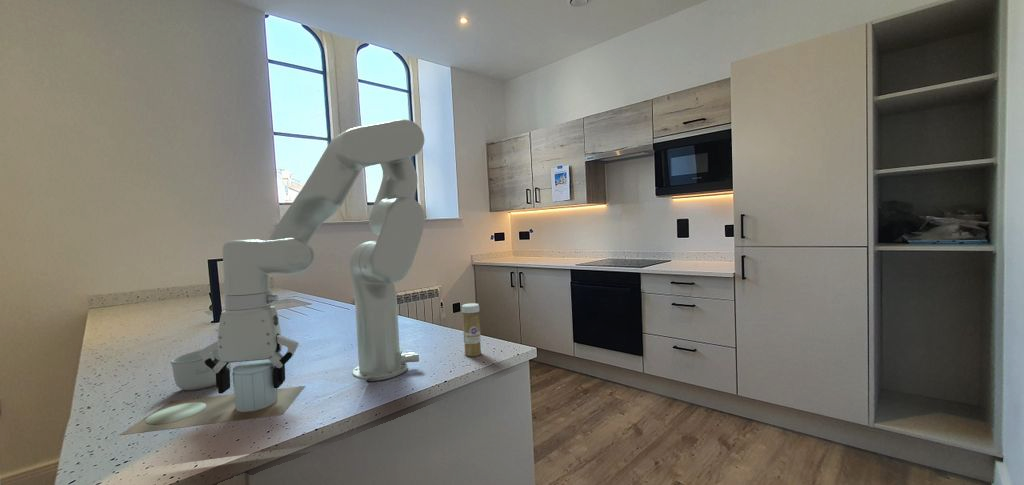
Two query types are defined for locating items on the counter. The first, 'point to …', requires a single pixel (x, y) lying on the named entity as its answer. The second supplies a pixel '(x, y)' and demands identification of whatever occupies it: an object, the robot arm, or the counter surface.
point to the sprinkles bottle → (471, 329)
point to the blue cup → (254, 385)
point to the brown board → (209, 412)
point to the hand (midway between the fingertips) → (251, 388)
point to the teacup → (194, 371)
